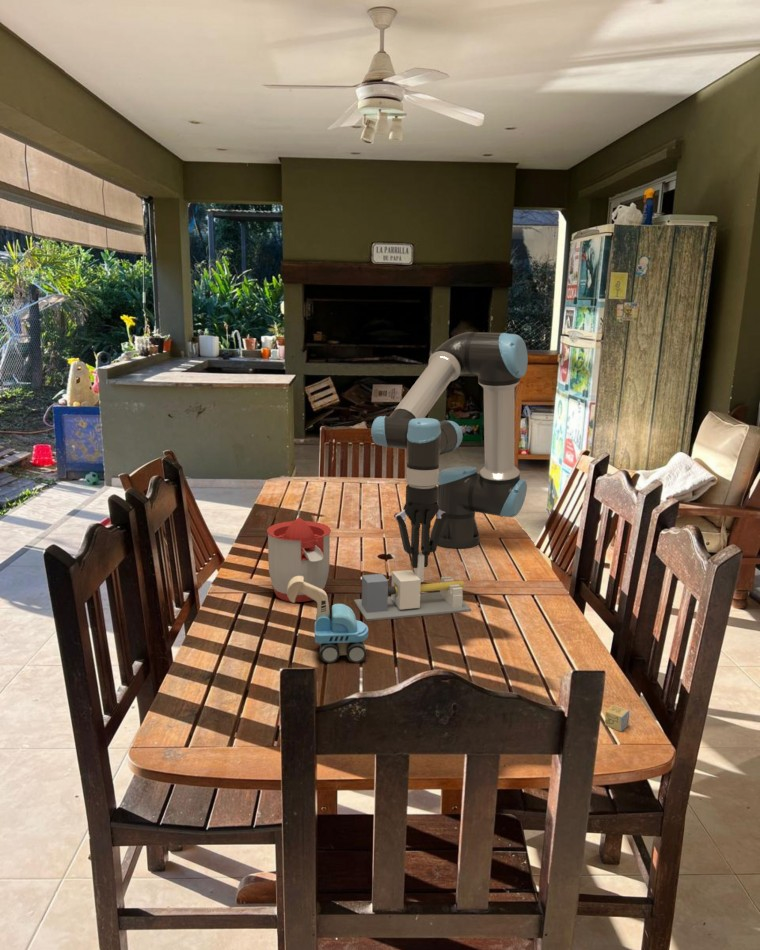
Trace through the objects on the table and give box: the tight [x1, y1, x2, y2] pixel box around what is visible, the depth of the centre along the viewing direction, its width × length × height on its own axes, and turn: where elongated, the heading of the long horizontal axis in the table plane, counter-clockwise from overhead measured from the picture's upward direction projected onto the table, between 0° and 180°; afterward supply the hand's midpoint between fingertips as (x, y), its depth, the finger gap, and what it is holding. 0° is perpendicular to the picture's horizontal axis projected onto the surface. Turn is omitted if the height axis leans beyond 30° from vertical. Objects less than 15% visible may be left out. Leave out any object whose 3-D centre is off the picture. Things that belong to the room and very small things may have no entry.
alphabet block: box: [604, 704, 630, 732], centre depth 133 cm, size 3×3×3 cm
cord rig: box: [353, 573, 473, 622], centre depth 182 cm, size 26×12×8 cm, turn 106°
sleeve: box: [390, 569, 422, 609], centre depth 182 cm, size 5×7×7 cm
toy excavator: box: [287, 576, 369, 664], centre depth 156 cm, size 9×17×17 cm, turn 95°
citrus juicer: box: [266, 517, 332, 604], centre depth 186 cm, size 16×17×20 cm
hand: (418, 579), depth 182 cm, fingers closed
